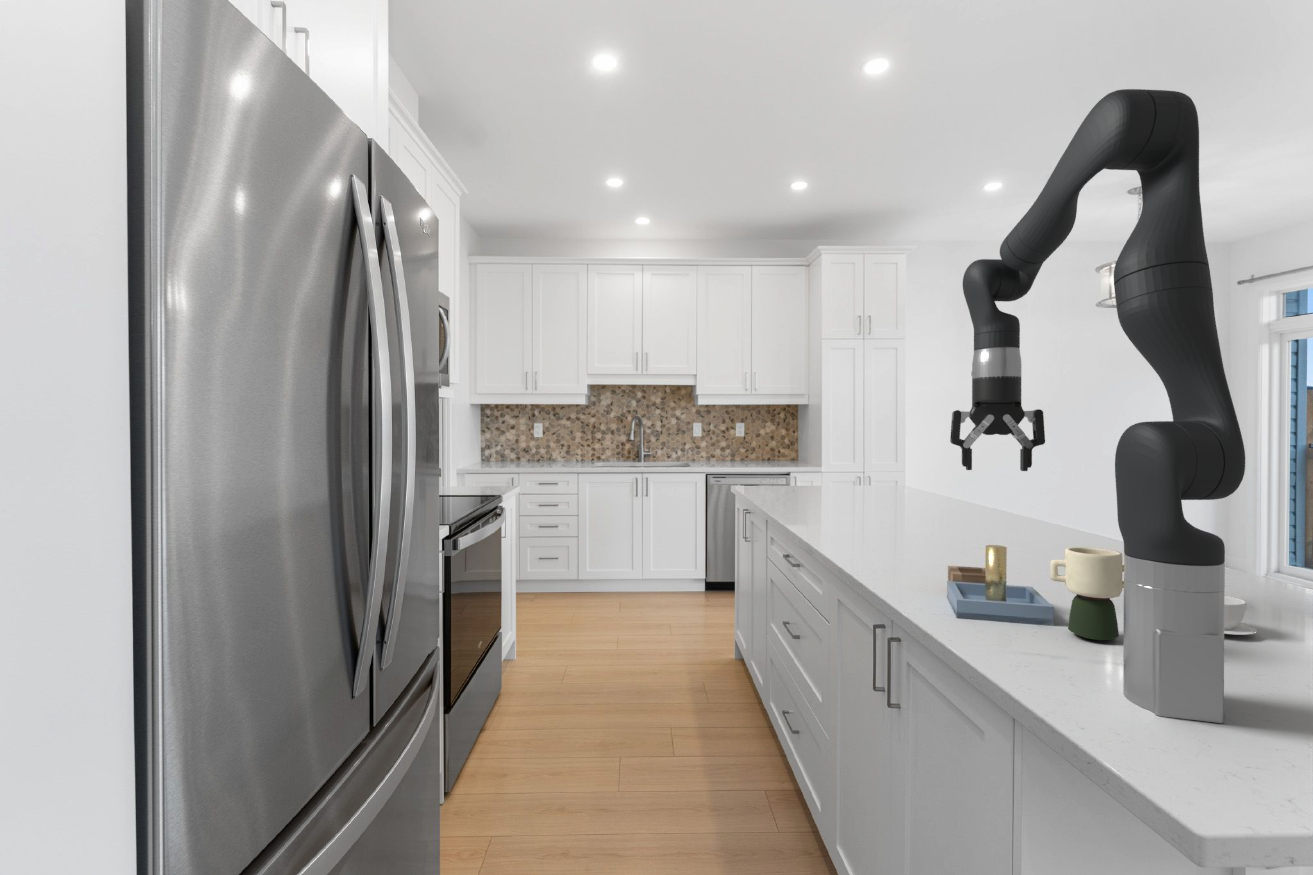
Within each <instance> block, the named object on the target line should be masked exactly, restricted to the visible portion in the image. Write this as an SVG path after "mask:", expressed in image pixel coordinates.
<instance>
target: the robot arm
mask: <svg viewBox="0 0 1313 875" xmlns="http://www.w3.org/2000/svg"><path fill="white" fill-rule="evenodd" d="M1197 110H1198V109H1197V107H1196V105H1195V102H1194V101H1193V99H1192V97H1190V96H1189V95H1187V94H1186V93H1184V92H1181V91H1177V90H1165V89H1163V90H1161V89H1138V88H1137V89H1136V88H1127V89H1117V90H1115V91H1112V92H1109V93H1107V94H1106V95H1105V96H1103V98H1100V100H1099V101H1098V102H1097V103H1096V104H1095V105H1094V106H1093V107H1092V108H1091V110H1090V111H1088V114H1087V115H1086V116H1085V118H1084V119H1083V121H1081V124H1079V127H1078V129H1077V130H1076V132H1075V134H1074V136H1073V137H1072V139H1071V140H1070V142H1069V144H1068V146H1066V149H1065V150H1064V152H1063V153H1062V155H1061V156H1060V158H1059V160H1058V162H1057V164H1056V166H1055V167H1054V169H1053V171H1052V172H1051V174H1050V176H1049V178H1048V179H1047V181H1046V183H1045V184H1044V187H1043V188H1042V190H1041V192H1039V195H1038V196H1037V198H1036V199H1035V200H1034V202H1033V204H1032V205H1031V206H1030V208H1029V209H1028V210H1027V211H1026V213H1025V214H1024V215H1023V216H1022V217H1021V219H1020V220H1019V221H1018V222H1017V223H1016V225H1015V226H1014V227H1013V228H1012V229H1011V230H1010V232H1009V233H1008V234H1007V235H1006V237H1005V238H1004V239H1003V240H1002V243H1001V244H1000V248H999V256H1000V258H1001V259H995V258H994V259H991V258H989V259H988V258H983V259H982V258H981V259H977V260H974V261H972V262H971V263H969V265H968V266H967V268H966V270H965V272H964V274H963V278H962V290H963V291H962V292H963V295H964V299H965V302H966V306H967V308H968V312H969V315H970V319H971V323H972V326H973V356H972V357H973V358H972V362H971V371H970V372H971V409H970V411H962V410H960V409H957V410H953V411H952V413H951V423H950V424H951V426H950V436H949V437H950V440H949V441H950V443H951V444H952V445H955V446H957V447H959V448H961V465H962V467H965V470H966V471H972V469H973V448H971V446H973V444H974V443H975V442H976V441H977V440H978V438H980V436H981V435H982V434H983V435H985V436H993V435H999V436H1008V435H1011V436H1012V437H1013V438H1014V439H1015V440H1016V441H1017V442H1018V443H1019V445H1020V446H1021V448H1020V450H1019V451H1020V453H1019V454H1020V456H1019V462H1020V464H1019V465H1020V471H1021V472H1028V470H1029V468H1032V465H1033V449H1034V448H1036V447H1038V446H1043V445H1045V443H1046V434H1045V432H1046V431H1045V419H1044V418H1045V417H1044V411H1043V410H1042V409H1034V410H1024V408H1023V406H1022V357H1021V349H1020V345H1021V343H1020V342H1021V337H1020V335H1021V330H1020V329H1021V327H1020V326H1021V324H1020V323H1021V322H1020V320H1019V318H1018V317H1017V316H1016V315H1014V314H1011V313H1007V312H1004V311H1001V310H1000V309H999V307H998V306H997V304H996V302H1006V303H1007V302H1008V303H1009V302H1015V301H1017V300H1019V299H1022V298H1023V297H1024V296H1025V295H1027V294H1028V292H1030V290H1031V289H1032V287H1033V284H1034V282H1035V280H1036V278H1037V276H1038V274H1039V273H1040V270H1041V268H1042V267H1043V265H1044V262H1046V261H1047V260H1048V258H1050V257H1051V255H1052V254H1054V252H1055V251H1056V250H1057V249H1058V248H1059V247H1060V246H1061V245H1063V244H1064V242H1065V241H1066V239H1067V238H1068V237H1069V235H1070V233H1071V232H1072V230H1073V228H1074V225H1075V222H1076V218H1077V212H1078V201H1079V196H1080V194H1081V193H1080V192H1081V191H1082V189H1083V188H1084V187H1085V186H1086V185H1087V183H1089V182H1090V181H1091V180H1092V179H1093V178H1094V177H1095V176H1097V174H1098V173H1100V172H1101V171H1103V170H1113V171H1114V170H1115V171H1117V170H1119V171H1136V172H1137V174H1138V176H1139V180H1140V186H1141V195H1142V196H1141V200H1142V203H1141V205H1142V206H1141V211H1140V216H1139V218H1138V221H1137V223H1136V224H1135V226H1134V228H1133V230H1132V232H1131V233H1130V235H1129V236H1128V239H1127V240H1126V241H1125V244H1124V246H1123V247H1122V249H1121V251H1120V253H1119V255H1118V257H1117V258H1116V259H1117V260H1116V261H1115V266H1114V269H1113V287H1114V294H1115V296H1114V297H1115V304H1116V305H1115V306H1116V312H1117V318H1118V321H1119V322H1118V323H1119V324H1120V326H1121V329H1122V331H1123V332H1124V334H1125V336H1126V337H1127V338H1128V340H1129V341H1130V342H1131V343H1132V345H1133V346H1134V348H1135V349H1136V350H1137V351H1138V352H1139V353H1140V354H1141V356H1142V357H1143V358H1144V359H1145V360H1146V362H1147V363H1148V364H1149V366H1151V367H1152V369H1153V371H1154V372H1155V373H1156V374H1157V375H1158V377H1159V379H1160V381H1161V382H1162V384H1163V387H1164V389H1165V391H1166V394H1167V397H1168V402H1169V405H1170V410H1171V415H1172V420H1170V421H1169V420H1167V421H1163V420H1160V421H1159V420H1157V421H1156V420H1155V421H1141V422H1140V421H1139V422H1137V423H1134V424H1132V425H1130V426H1129V427H1127V428H1126V429H1125V430H1124V431H1123V433H1122V434H1121V436H1120V438H1119V439H1118V443H1117V446H1116V449H1115V455H1114V456H1115V458H1114V478H1115V493H1116V507H1117V508H1116V509H1117V510H1116V511H1117V524H1118V527H1119V532H1120V534H1121V537H1122V540H1123V556H1124V557H1123V562H1124V563H1123V565H1124V572H1123V581H1124V588H1123V643H1122V644H1123V649H1122V650H1123V651H1122V652H1123V653H1122V654H1123V656H1122V657H1123V661H1122V663H1123V671H1122V672H1123V673H1122V674H1123V677H1122V678H1123V679H1122V681H1123V683H1122V685H1123V689H1122V690H1123V692H1122V693H1123V696H1124V697H1125V698H1126V700H1128V701H1129V702H1130V703H1132V704H1134V705H1136V706H1138V707H1140V708H1142V709H1145V710H1147V711H1150V712H1152V713H1154V714H1155V715H1156V716H1158V717H1165V718H1174V719H1182V720H1189V721H1190V720H1193V721H1201V722H1207V723H1208V722H1210V723H1218V724H1223V723H1224V716H1225V715H1224V713H1225V704H1224V703H1225V702H1224V701H1225V699H1224V698H1225V634H1224V595H1225V586H1226V585H1225V584H1226V583H1225V581H1226V578H1225V576H1226V575H1225V574H1226V573H1225V570H1226V565H1225V560H1226V558H1225V557H1226V556H1225V554H1226V548H1225V546H1226V545H1225V542H1224V540H1223V539H1222V538H1221V537H1220V536H1218V535H1216V534H1214V533H1211V532H1209V531H1204V530H1202V529H1200V528H1197V527H1196V526H1194V525H1193V524H1191V523H1189V521H1188V520H1187V519H1186V518H1185V515H1184V511H1183V504H1182V503H1183V502H1182V501H1194V500H1195V501H1208V500H1209V501H1213V500H1221V499H1225V498H1227V497H1229V496H1231V495H1232V494H1234V493H1235V492H1236V491H1237V490H1238V488H1239V487H1240V485H1241V484H1242V481H1243V479H1244V477H1245V476H1244V475H1245V472H1246V451H1245V445H1244V439H1243V436H1242V431H1241V428H1240V423H1239V420H1238V417H1237V413H1236V410H1235V406H1234V402H1233V399H1232V396H1231V392H1230V388H1229V384H1228V381H1227V376H1226V371H1225V368H1224V362H1223V357H1222V351H1221V346H1220V340H1219V334H1218V328H1217V322H1216V321H1217V320H1216V315H1215V307H1214V292H1213V284H1212V276H1211V270H1210V269H1211V268H1210V263H1209V259H1208V258H1209V257H1208V253H1207V249H1206V243H1205V236H1204V226H1203V225H1204V224H1203V216H1202V206H1201V194H1200V125H1199V124H1200V123H1199V116H1198V111H1197ZM968 418H969V419H970V420H971V422H972V423H973V424H974V427H973V428H972V430H971V431H970V432H969V433H968V435H967V436H965V438H964V439H961V438H960V437H961V424H964V423H965V422H966V420H967V419H968ZM1025 418H1027V421H1028V422H1029V423H1031V424H1032V437H1033V438H1032V439H1030V438H1029V437H1028V436H1027V435H1026V433H1025V432H1024V431H1023V429H1021V427H1020V426H1019V425H1020V423H1021V422H1022V421H1023V420H1024V419H1025Z"/></svg>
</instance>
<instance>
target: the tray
mask: <svg viewBox="0 0 1313 875" xmlns="http://www.w3.org/2000/svg"><path fill="white" fill-rule="evenodd" d="M946 598H947V601H948V603H949V604H950V607H951V609H952V611H953V613H954V616H955V617H956V619H966V620H977V621H978V620H979V621H991V622H1001V623H1006V622H1007V623H1015V624H1016V623H1017V624H1025V625H1026V624H1029V625H1037V626H1038V625H1041V626H1050V627H1051V626H1054V605H1052V604H1051V603H1050V602H1049V601H1048V600H1047V599H1046V598H1045V597H1043V596H1042V595H1041V594H1040V593H1039V592H1038V591H1037V589H1035V588H1034V587H1033V586H1029V585H1026V586H1025V585H1015V584H1014V585H1013V584H1011V585H1010V584H1006V602H1004V601H990V600H985V584H983V583H968V582H952V581H948V580H947V581H946Z"/></svg>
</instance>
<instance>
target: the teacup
mask: <svg viewBox="0 0 1313 875" xmlns="http://www.w3.org/2000/svg"><path fill="white" fill-rule="evenodd" d="M1246 606H1247V602H1246V601H1245V600H1243V599H1241V598H1237V597H1233V596H1229V595H1225V594H1224V635H1234V636H1235V635H1237V636H1247V635H1248V636H1249V635H1255V634H1257V632H1258V630H1257V629H1256V628H1254V627H1252V626H1250V625H1248V624H1244V623H1242V621H1243V619H1244V617H1245V612H1246Z"/></svg>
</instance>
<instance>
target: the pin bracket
mask: <svg viewBox="0 0 1313 875" xmlns="http://www.w3.org/2000/svg"><path fill="white" fill-rule="evenodd" d="M947 581H952V582H968V583H983V584H985V567H975V566H958V565H947Z"/></svg>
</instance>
